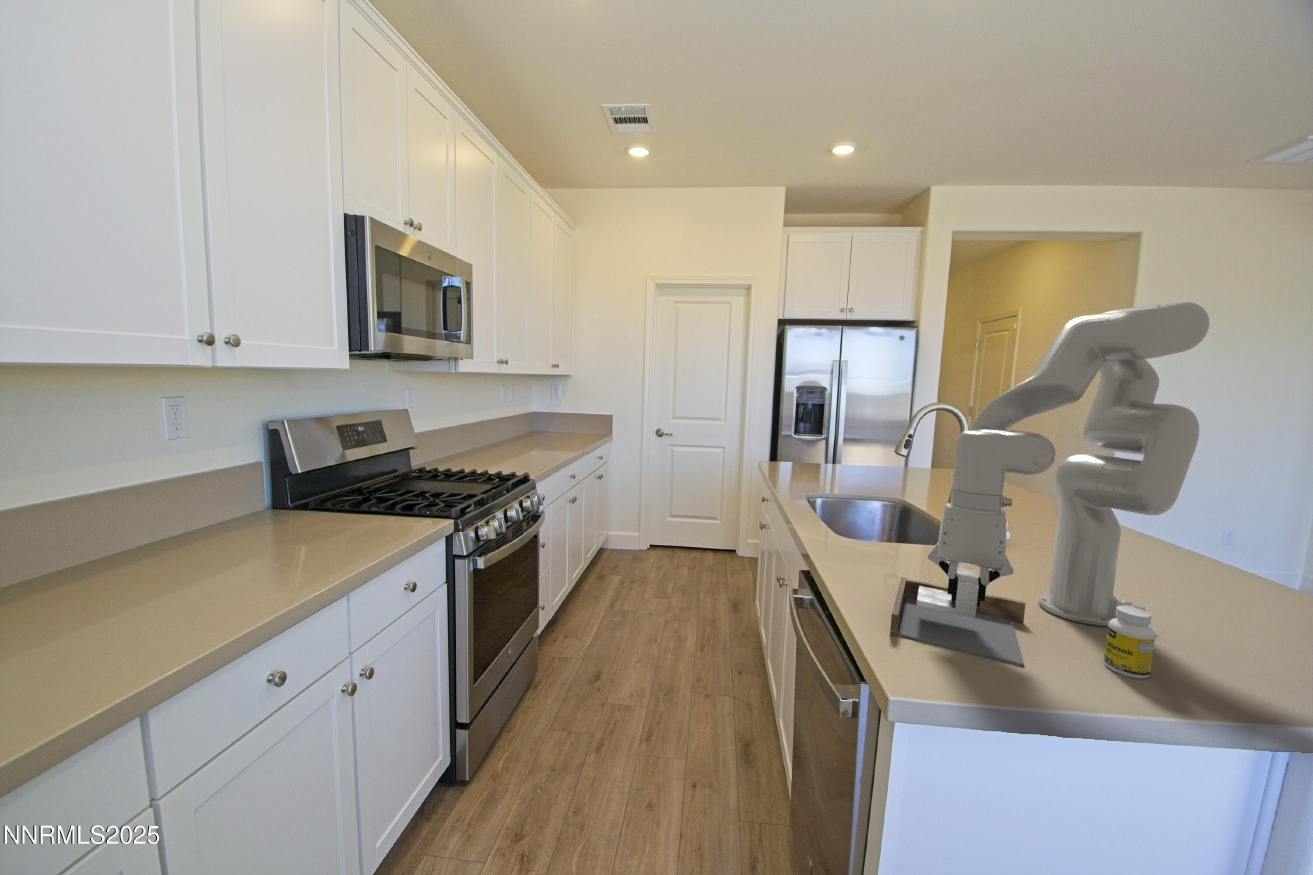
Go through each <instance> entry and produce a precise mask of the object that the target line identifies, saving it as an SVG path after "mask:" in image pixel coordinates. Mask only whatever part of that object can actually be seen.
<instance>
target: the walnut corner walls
mask: <svg viewBox="0 0 1313 875" xmlns="http://www.w3.org/2000/svg"><path fill="white" fill-rule="evenodd" d="M919 586H922V587H927V588H932V589H937V590H942V591H946V592H947V591H948V586H946V585H942V584H935V583H932V582H931V583H930V582H925V581H920V580H914V579H909V578H907V577H903V576H901V578H900V581H899V584H898V589H897V592H896V596H895V600H894V603H893V607H892V611H891V616H890V617H891V618H890V630H889V631H890V633H889V636H890V637H894V638H897V635H898V632H899V628H900V623H901V622H900V621H901V618H902V617H901V616H902V614H903V609H904V605H905V600H906V598H909V599H914V600H917V597H918V591H919ZM1025 610H1026V602H1025V601H1022V600H1017V599H1012V598H1007V597H1002V596H997V595H993V594H988V593H987V594H986V593H985V601H980V607H978V606H977V607H976V613H980V614H985V615H990V616H994V617H999V618H1004V619H1009V620H1012V622H1013V623H1017V624H1019V625H1020V624H1021V625H1024V620H1025V612H1026V611H1025Z"/></svg>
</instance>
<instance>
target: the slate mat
mask: <svg viewBox="0 0 1313 875" xmlns="http://www.w3.org/2000/svg"><path fill="white" fill-rule="evenodd" d="M901 616H902V617H901V619H900V621H901V622H900V624H899V629H898V636H899V637H901V638H907V639H910V640H913V641H914V640H915V641H919V642H922V643H926V644H931V645H935V646H939V647H943V648H946V649H950V650H955V651H960V652H963V653H968V654H970V655H975V656H979V657H983V658H987V659H991V660H996V661H999V662H1004V663H1008V664H1011V665H1016V666H1019V667H1025V663H1024V659H1023V656H1022V651H1021V647H1020V645H1019V640H1018V637H1017V633H1016V629H1015V626H1014V622H1012V620H1009V619H1004V618H999V617H994V616H990V615H985V614H980V613H976V616H975V618H971V617H966V616H962V615H957V614H953V613H948V612H944V611H939V610H935V609H930V608H926V607H921V606H917V600H914V599H909V598H906V599H905V600H904V605H903V610H902V614H901Z"/></svg>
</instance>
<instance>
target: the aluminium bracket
mask: <svg viewBox="0 0 1313 875" xmlns="http://www.w3.org/2000/svg"><path fill="white" fill-rule="evenodd" d="M956 573H957V577H958V583H957V593H956V601H951V594H947V592H946V591H942V590H937V589H932V588H927V587H922V586H919V591H918V597H917V606H921V607H926V608H930V609H935V610H939V611H944V612H948V613H953V614H957V615H962V616H966V617H971V618H975V616H976V607H977V597H978V588H979V583H978V572H977V570H973V569H967V568H964V567H962V568H961V567H957V571H956Z"/></svg>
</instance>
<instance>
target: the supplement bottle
mask: <svg viewBox="0 0 1313 875" xmlns="http://www.w3.org/2000/svg"><path fill="white" fill-rule="evenodd" d="M1116 616H1117V618H1114V619H1112V620H1110V621H1109V625H1108V626H1107V632H1106V639H1105V641H1106V642H1105V649H1104V654H1103V655H1104V656H1103V663H1104V665H1105V666H1106V667H1107V668H1109V669H1110V670H1111V671H1113V672H1114V673H1118V674H1120V675H1122V676H1124V677H1129V678H1133V679H1141V680H1143V679H1147V678H1149V677H1150V675H1151V671H1152V663H1153V657H1154V655H1153V654H1154V648H1155V641H1156V632H1155V630H1154V629H1153V628H1152V627H1150V625H1151V623H1152V614H1151V613H1150V612H1148V611H1147V610H1146V611H1144V610H1142V609H1138V608H1135V607H1130V606H1117V609H1116Z"/></svg>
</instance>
